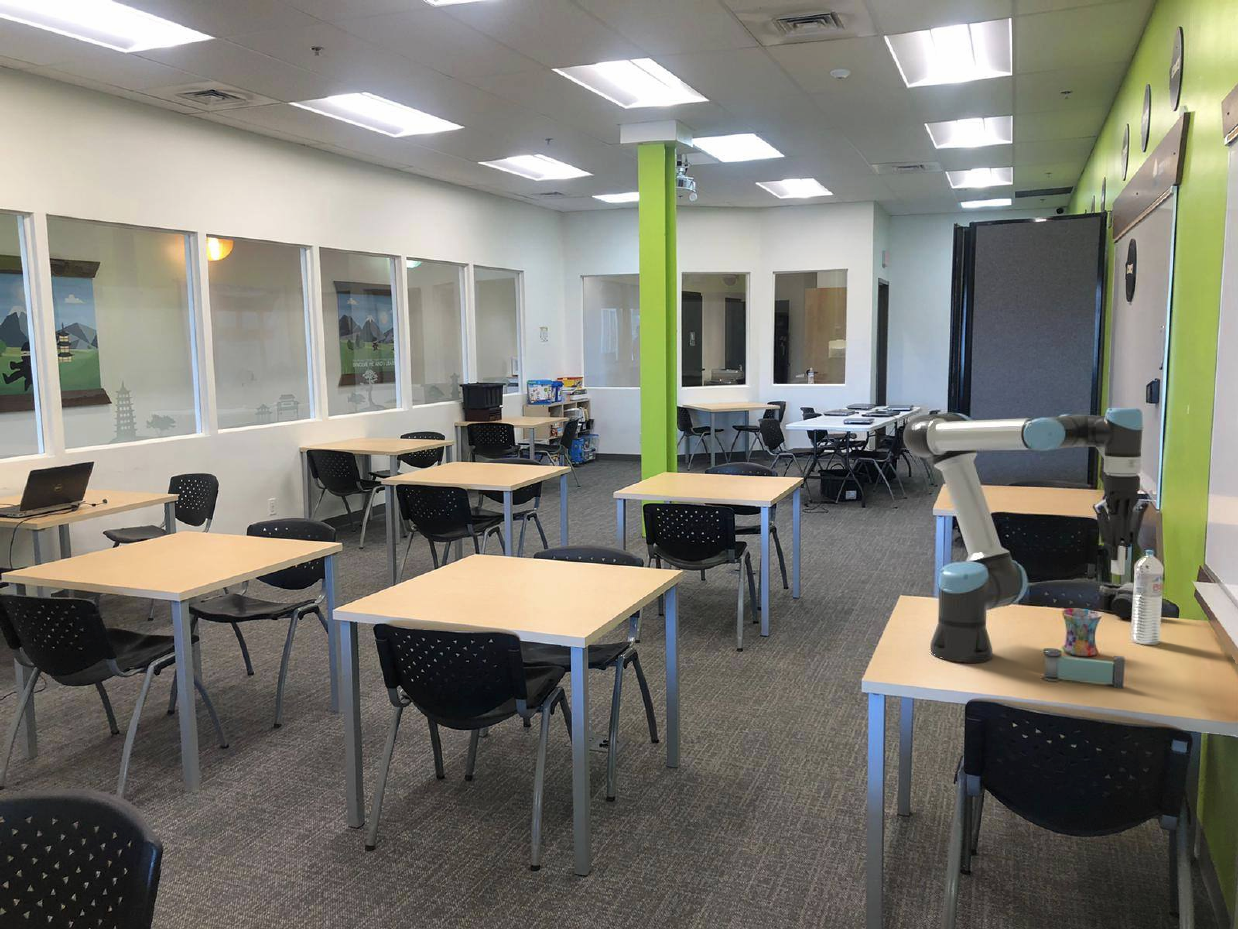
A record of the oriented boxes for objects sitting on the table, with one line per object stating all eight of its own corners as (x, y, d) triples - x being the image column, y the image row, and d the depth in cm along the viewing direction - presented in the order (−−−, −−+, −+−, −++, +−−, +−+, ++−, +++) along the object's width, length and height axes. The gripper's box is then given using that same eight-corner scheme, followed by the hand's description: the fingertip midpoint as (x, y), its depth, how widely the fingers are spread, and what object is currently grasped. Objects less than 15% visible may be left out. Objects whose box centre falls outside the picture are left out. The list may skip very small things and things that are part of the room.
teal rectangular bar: (1044, 678, 222) (1045, 657, 221) (1044, 674, 224) (1045, 653, 224) (1112, 685, 216) (1113, 664, 215) (1111, 681, 219) (1112, 660, 218)
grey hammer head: (1042, 680, 221) (1043, 652, 221) (1042, 675, 225) (1043, 647, 224) (1061, 682, 220) (1062, 654, 219) (1060, 677, 224) (1061, 649, 223)
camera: (1091, 616, 275) (1092, 583, 274) (1100, 608, 282) (1102, 576, 281) (1150, 625, 264) (1152, 591, 263) (1159, 618, 272) (1161, 584, 271)
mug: (1090, 661, 235) (1092, 620, 234) (1053, 652, 242) (1055, 612, 241) (1110, 651, 242) (1112, 611, 241) (1074, 643, 250) (1076, 604, 248)
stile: (1106, 686, 217) (1108, 657, 216) (1105, 682, 220) (1107, 653, 219) (1123, 688, 216) (1124, 659, 215) (1121, 684, 218) (1123, 655, 218)
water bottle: (1149, 637, 253) (1154, 547, 250) (1165, 645, 246) (1170, 553, 243) (1125, 638, 253) (1129, 548, 250) (1139, 646, 246) (1144, 553, 243)
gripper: (1107, 477, 211) (1103, 578, 214) (1158, 475, 213) (1153, 575, 216) (1085, 473, 219) (1082, 571, 221) (1135, 471, 221) (1131, 568, 223)
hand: (1117, 573), depth 219 cm, fingers closed
